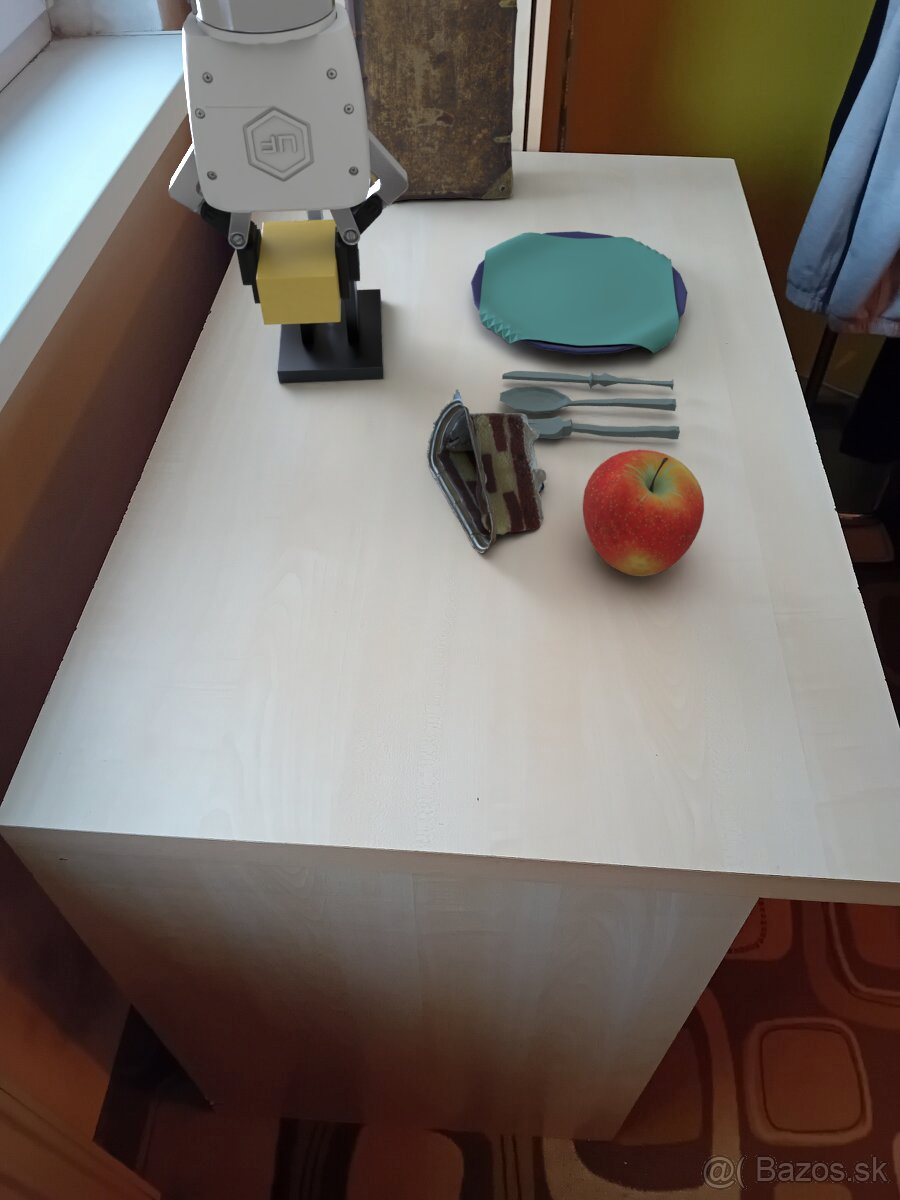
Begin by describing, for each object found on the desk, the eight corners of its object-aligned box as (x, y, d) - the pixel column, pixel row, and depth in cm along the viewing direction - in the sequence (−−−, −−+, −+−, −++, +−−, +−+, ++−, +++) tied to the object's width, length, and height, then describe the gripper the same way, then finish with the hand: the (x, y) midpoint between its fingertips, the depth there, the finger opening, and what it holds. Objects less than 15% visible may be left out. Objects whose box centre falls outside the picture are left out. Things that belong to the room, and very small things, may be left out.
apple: (626, 501, 74) (646, 396, 66) (711, 559, 70) (743, 454, 62) (552, 554, 70) (565, 449, 62) (638, 618, 66) (662, 514, 59)
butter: (264, 325, 63) (255, 278, 61) (270, 266, 68) (262, 221, 65) (340, 322, 63) (335, 275, 61) (341, 264, 68) (337, 218, 65)
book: (355, 203, 102) (333, -73, 83) (359, 171, 107) (339, -98, 88) (512, 203, 102) (527, -74, 83) (510, 171, 107) (522, -99, 88)
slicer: (383, 378, 83) (377, 276, 76) (279, 383, 83) (261, 281, 75) (381, 300, 91) (374, 200, 83) (285, 303, 91) (270, 203, 83)
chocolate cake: (574, 546, 71) (566, 381, 70) (491, 552, 68) (481, 380, 67) (509, 548, 80) (500, 401, 79) (432, 554, 76) (422, 401, 76)
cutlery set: (676, 253, 96) (680, 231, 94) (701, 453, 77) (707, 431, 75) (477, 244, 97) (478, 222, 95) (453, 440, 78) (453, 417, 76)
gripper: (88, 19, 49) (170, 328, 63) (426, 10, 49) (432, 318, 63) (112, -33, 53) (183, 265, 67) (420, -40, 54) (427, 256, 68)
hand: (303, 288), depth 65 cm, fingers closed on butter, 5 cm apart
